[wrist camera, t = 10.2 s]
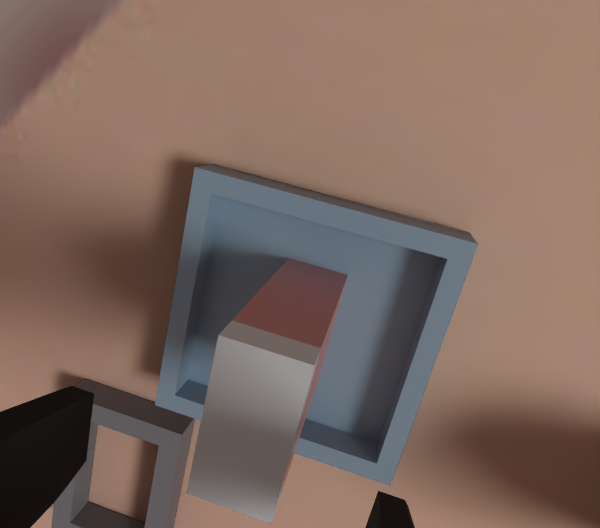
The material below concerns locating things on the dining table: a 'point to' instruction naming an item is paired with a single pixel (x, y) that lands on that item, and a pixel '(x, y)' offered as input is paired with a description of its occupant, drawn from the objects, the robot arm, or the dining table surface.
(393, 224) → the parts tray
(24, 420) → the robot arm
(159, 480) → the grey rectangular frame
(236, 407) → the red and grey block
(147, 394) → the dining table surface
